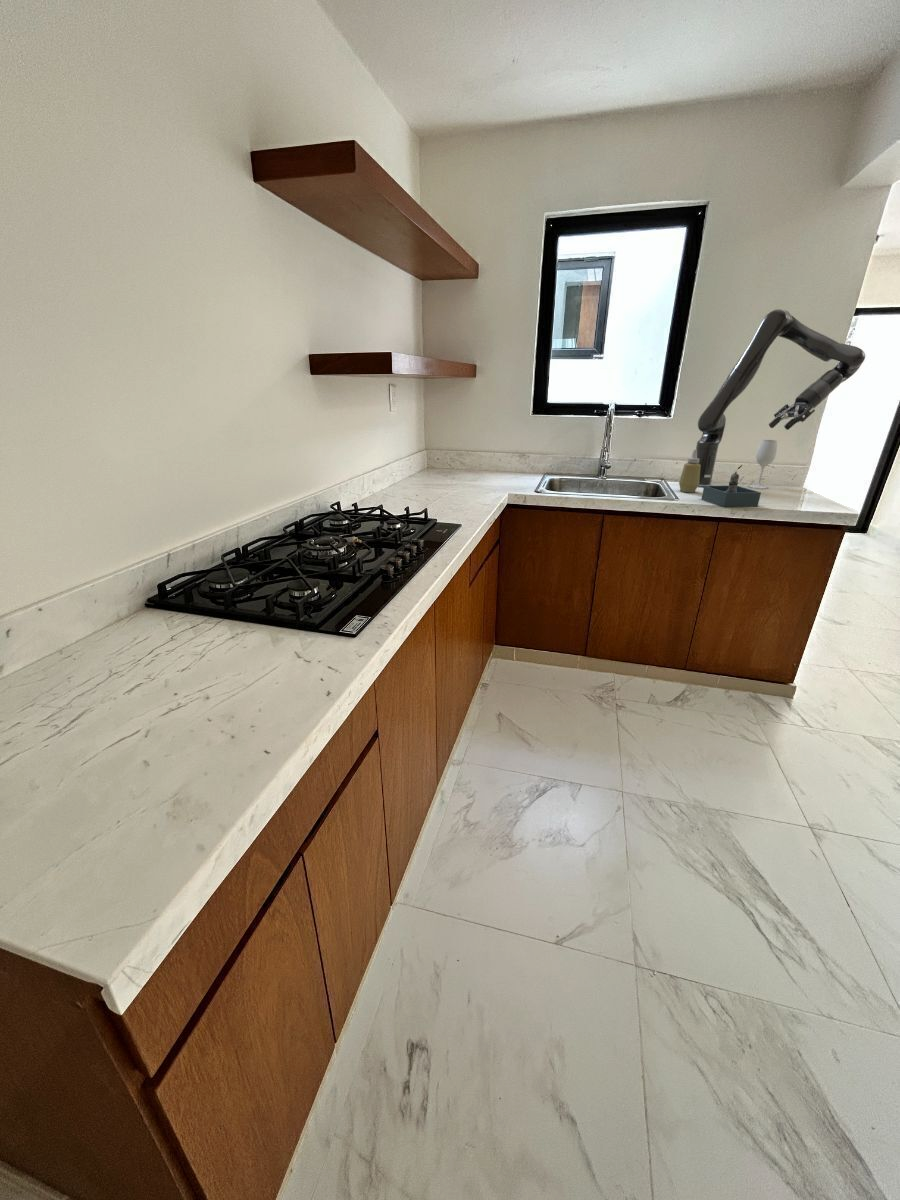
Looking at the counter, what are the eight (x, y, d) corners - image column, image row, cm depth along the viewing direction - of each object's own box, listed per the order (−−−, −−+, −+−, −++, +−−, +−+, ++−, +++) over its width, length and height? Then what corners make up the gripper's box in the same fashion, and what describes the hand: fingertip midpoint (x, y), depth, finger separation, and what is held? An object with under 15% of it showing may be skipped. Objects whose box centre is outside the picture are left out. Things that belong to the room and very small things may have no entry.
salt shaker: (733, 500, 203) (740, 470, 199) (740, 503, 198) (747, 472, 193) (718, 499, 204) (725, 469, 199) (724, 502, 198) (731, 472, 194)
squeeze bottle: (677, 492, 221) (685, 450, 214) (677, 489, 228) (684, 448, 221) (697, 493, 218) (706, 451, 211) (696, 490, 225) (705, 449, 218)
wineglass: (767, 486, 235) (779, 440, 227) (767, 489, 229) (779, 441, 221) (749, 485, 239) (760, 439, 231) (748, 487, 233) (759, 440, 225)
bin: (701, 499, 207) (704, 485, 205) (733, 498, 209) (736, 485, 207) (723, 507, 193) (726, 492, 191) (757, 506, 195) (761, 492, 193)
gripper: (795, 388, 196) (760, 419, 199) (823, 388, 183) (786, 421, 186) (803, 402, 199) (769, 432, 202) (832, 403, 186) (795, 435, 189)
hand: (777, 427), depth 194 cm, fingers open, 8 cm apart
